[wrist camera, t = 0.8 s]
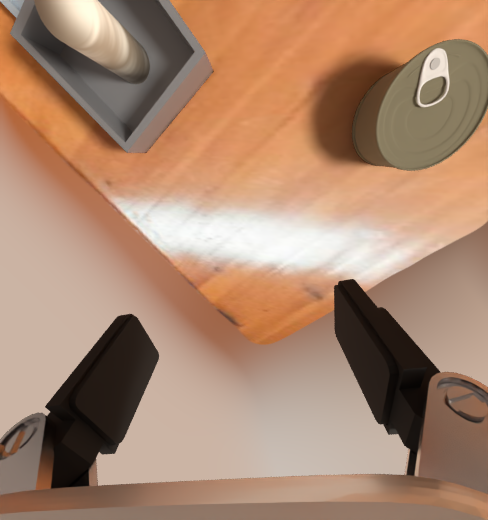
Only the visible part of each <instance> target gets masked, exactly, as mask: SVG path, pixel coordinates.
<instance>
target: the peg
mask: <svg viewBox="0 0 488 520" xmlns="http://www.w3.org/2000/svg"><path fill="white" fill-rule="evenodd" d="M34 2H35V6H36V9H37V11H38V14H39V16H40V18H41V20H42V22H43V23H44V25H45V26H46V28H47V29H48V30H49V31H50V32H51V33H52V34H53V35H54V36H55V37H56V38H57V39H59V40H60V41H62V42H63V43H65V44H67V45H68V46H70V47H72V48H73V49H75V50H77V51H78V52H80V53H82V54H83V55H85V56H87V57H88V58H90V59H92V60H93V61H95V62H97V63H98V64H100V65H102V66H103V67H105V68H107V69H108V70H110V71H111V72H113V73H115V74H116V75H118V76H120V77H121V78H123V79H125V80H126V81H128V82H130V83H132V84H140V83H143V82H144V81H145V80H146V79H147V77H148V75H149V71H150V63H149V58H148V55H147V53H146V51H145V49H144V48H143V46H142V45H141V44H140V43H139V42H138V41H137V40H136V39H135V38H134V37H133V36H132V35H131V34H130V33H129V32H128V31H127V30H126V29H125V28H124V27H123V26H122V25H121V24H120V23H119V22H118V21H117V20H116V19H115V18H114V17H113V16H112V15H111V14H110V13H109V12H108V11H107V10H106V9H105V7H104V6H103V5H102V4H101V3H100V2H99V1H98V0H34Z"/></svg>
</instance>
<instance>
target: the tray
mask: <svg viewBox="0 0 488 520" xmlns="http://www.w3.org/2000/svg"><path fill="white" fill-rule="evenodd" d="M0 1H1V2H2V4H3V5H4V6H5V7H6V8H7V9H8V10H9V11H10V12H11V13H12V14H13V15H14V16H15V17H16V18H17V16H18V14H19V12H20V9H21V7H22V5H23V2H24V0H0Z"/></svg>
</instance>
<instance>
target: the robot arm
mask: <svg viewBox="0 0 488 520" xmlns="http://www.w3.org/2000/svg"><path fill="white" fill-rule="evenodd" d="M334 312H335V334H336V337H337V339H338V341H339V343H340V345H341V348H342V350H343V352H344V354H345V356H346V358H347V360H348V362H349V364H350V367H351V369H352V371H353V373H354V375H355V377H356V379H357V381H358V384H359V386H360V388H361V390H362V392H363V394H364V396H365V398H366V400H367V402H368V405H369V407H370V409H371V411H372V413H373V415H374V417H375V419H376V421H377V422H378V424H384V427H385V428H386V431H387V432H388V434H389V435H390V434H399V436H400V438H401V440H402V442H403V444H404V446H406V447H407V448H409V449H408V456H407V462H406V468H405V474H404V475H389V474H387V475H386V474H355V475H353V474H352V475H311V476H288V477H265V478H243V479H242V478H241V479H220V480H199V481H178V482H159V483H138V484H121V485H102V486H98V482H97V481H98V480H97V465H96V457H97V454H98V453H99V452H100V453H101V454H114V453H115V452H116V450H117V447H118V445H119V443H121V442H122V440H123V439H124V437H125V434H126V432H127V430H128V428H129V426H130V423H131V421H132V419H133V417H134V414H135V412H136V410H137V407H138V405H139V403H140V401H141V398H142V396H143V394H144V391H145V389H146V387H147V385H148V382H149V380H150V378H151V376H152V373H153V371H154V369H155V366H156V364H157V362H158V359H159V354H158V351H157V349H156V348H155V346H154V345H153V343H152V341H151V340H150V338H149V336H148V335H147V333H146V331H145V330H144V328H143V326H142V325H141V323H140V321H139V320H138V318H137V317H135V316H134V315H132V314H127V315H121V316H118V317H117V318H116V319H115V320H114V321H113V323H112V324H111V325H110V327H109V328H108V329H107V330H106V331H105V333H104V334H103V335H102V337H101V338H100V339H99V340H98V341H97V343H96V344H95V345H94V346H93V348H92V349H91V350H90V351H89V353H88V354H87V355H86V356H85V358H84V359H83V360H82V361H81V362H80V364H79V365H78V366H77V368H76V369H75V370H74V371H73V372H72V374H71V375H70V376H69V377H68V379H67V380H66V381H65V382H64V384H63V385H62V386H61V387H60V389H59V390H58V391H57V392H56V394H55V395H54V396H53V397H52V399H51V400H50V401H49V402H48V403H47V405H46V406H45V407H46V408H47V409H48V410H49V411H50V413H49V414H48V416H46V415H44V414H43V413H35V414H32V415H30V416H28V417H26V418H24V419H22V420H21V421H20V422H18V423H17V424H15V425H14V426H13V427H12V428H11V429H10V430H9V431H7V432H6V433H5V434H4V436H3V437H2V438H1V439H0V520H488V387H487V386H485V385H484V384H482V383H481V382H479V381H477V380H474V379H472V378H470V377H468V376H465V375H462V374H458V373H453V372H442V373H441V372H440V371H439V370H438V369H437V368H436V366H435V365H434V364H433V363H432V362H431V361H430V359H429V358H428V357H427V356H426V355H425V354H424V353H423V351H422V350H421V349H420V348H419V347H418V346H417V345H416V344H415V342H414V341H413V340H412V339H411V338H410V337H409V336H408V334H407V333H406V332H405V331H404V330H403V328H402V327H401V326H400V325H399V324H398V323H397V322H396V320H395V319H394V318H393V317H392V316H391V315H390V314H389V312H388V311H387V310H386V309H384V308H382V307H380V308H377V306H376V305H375V304H374V303H373V302H372V300H371V299H370V298H369V297H368V296H367V294H366V293H365V292H364V291H363V289H362V288H361V287H360V286H359V285H358V283H357V282H356V281H355V280H354V279H350V280H344V281H339V283H338V285H335V286H334Z"/></svg>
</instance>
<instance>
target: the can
mask: <svg viewBox="0 0 488 520" xmlns="http://www.w3.org/2000/svg"><path fill="white" fill-rule="evenodd" d="M487 109H488V55H487V53H486V52H485V51H484V50H483V49H482V48H481V47H480V46H479V45H477V44H475V43H473V42H471V41H468V40H462V39H454V40H447V41H443V42H440V43H437V44H435V45H433V46H431V47H429V48H427V49H425V50H424V51H422V52H420V53H419V54H418V55H416V56H415V57H413V58H412V59H411V60H410V61H409V62H407V63H405V64H404V65H402V66H400V67H399V68H397V69H395V70H394V71H392V72H390V73H388V74H386V75H385V76H383V77H382V78H381V79H379V80H378V81H377V82H376V83H375V84H374V85H373V86H372V87H371V88H370V89H369V90H368V91H367V93H366V94H365V95H364V97H363V99H362V100H361V102H360V104H359V106H358V108H357V110H356V113H355V116H354V120H353V125H352V140H353V145H354V148H355V150H356V152H357V153H358V155H359V156H360V157H361V158H362V159H363V160H364V161H365V162H367V163H369V164H372V165H375V166H385V167H394V168H397V169H401V170H407V171H415V170H422V169H426V168H429V167H432V166H434V165H437V164H439V163H441V162H442V161H444V160H446V159H447V158H449V157H450V156H452V155H453V154H454V153H455V152H457V151H458V150H459V149H460V148H461V147H462V146H463V145H464V144H465V143H466V142H467V141H468V140H469V139H470V137H471V136H472V135H473V134H474V132H475V131H476V129H477V128H478V126H479V125H480V123H481V121H482V119H483V118H484V116H485V113H486V111H487Z"/></svg>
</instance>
